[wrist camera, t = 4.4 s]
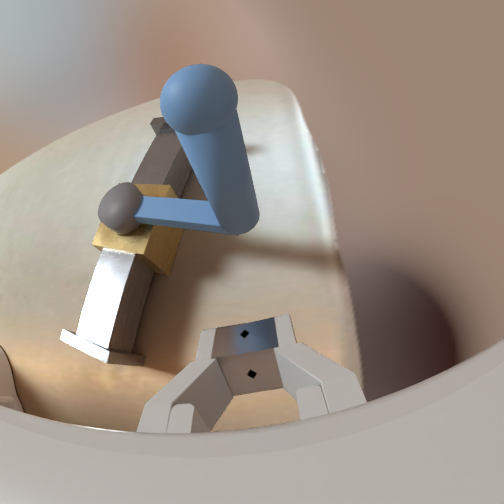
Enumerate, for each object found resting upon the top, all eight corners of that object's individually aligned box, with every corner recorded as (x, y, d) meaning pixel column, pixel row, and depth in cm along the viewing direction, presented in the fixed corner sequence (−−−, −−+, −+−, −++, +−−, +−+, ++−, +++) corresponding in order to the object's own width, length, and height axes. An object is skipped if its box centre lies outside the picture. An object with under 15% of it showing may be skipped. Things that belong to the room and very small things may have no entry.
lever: (101, 231, 23) (5, 141, 11) (119, 192, 25) (41, 94, 12) (257, 255, 20) (210, 96, 8) (269, 204, 22) (242, 44, 9)
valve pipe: (144, 366, 23) (108, 364, 18) (96, 347, 25) (58, 338, 19) (213, 150, 33) (200, 114, 27) (169, 150, 34) (152, 118, 29)
